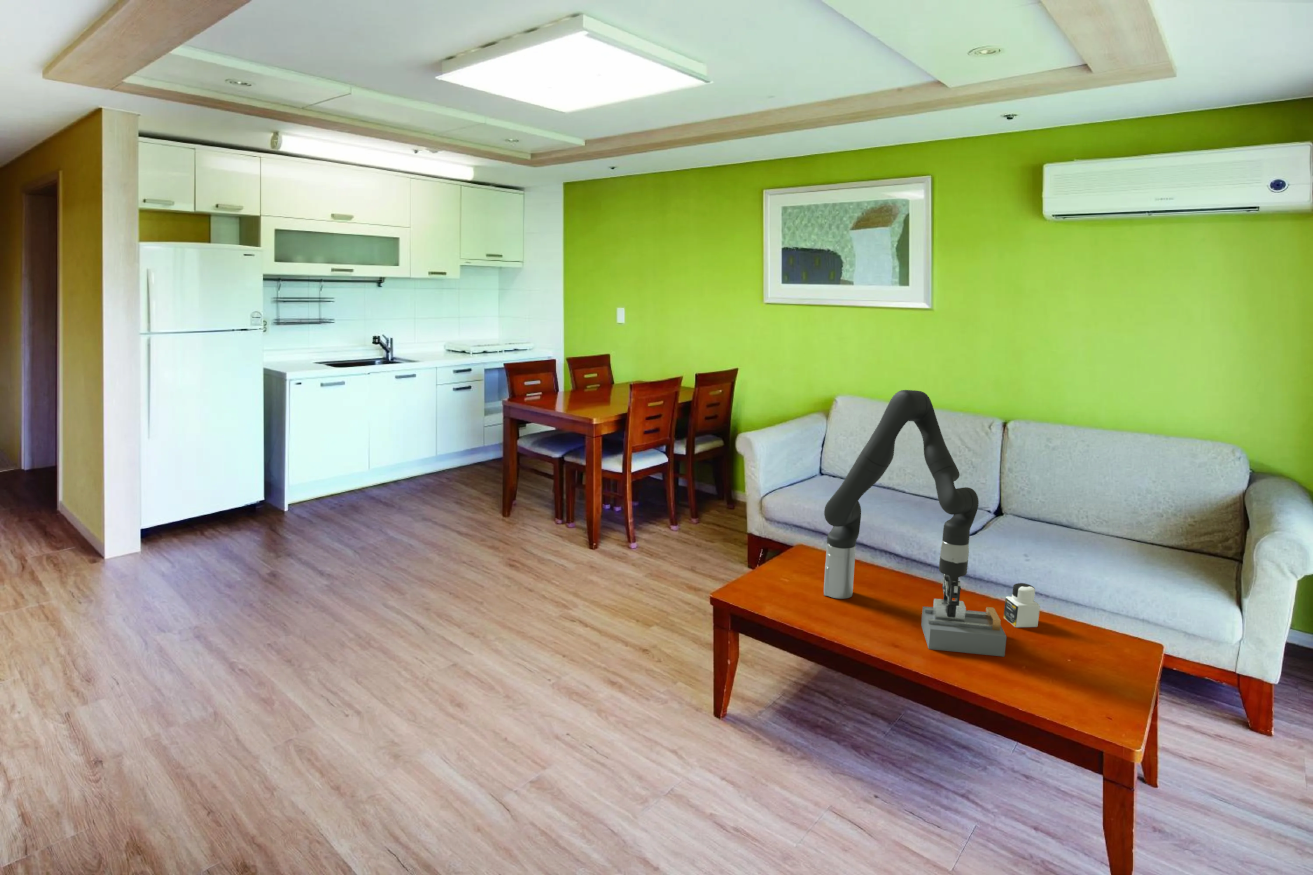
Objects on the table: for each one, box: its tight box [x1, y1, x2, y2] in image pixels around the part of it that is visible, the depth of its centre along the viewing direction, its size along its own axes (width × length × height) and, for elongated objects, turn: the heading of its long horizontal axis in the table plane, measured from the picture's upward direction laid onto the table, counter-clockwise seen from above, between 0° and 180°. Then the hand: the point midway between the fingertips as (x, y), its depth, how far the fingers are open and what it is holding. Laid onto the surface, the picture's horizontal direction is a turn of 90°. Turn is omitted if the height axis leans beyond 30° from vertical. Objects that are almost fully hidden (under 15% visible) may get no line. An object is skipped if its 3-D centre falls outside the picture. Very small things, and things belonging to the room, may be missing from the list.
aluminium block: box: [932, 598, 967, 622], centre depth 222 cm, size 8×5×5 cm, turn 78°
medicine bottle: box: [1003, 582, 1041, 628], centre depth 234 cm, size 7×7×12 cm
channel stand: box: [920, 606, 1007, 657], centre depth 222 cm, size 20×16×9 cm
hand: (948, 611), depth 222 cm, fingers open, 6 cm apart
